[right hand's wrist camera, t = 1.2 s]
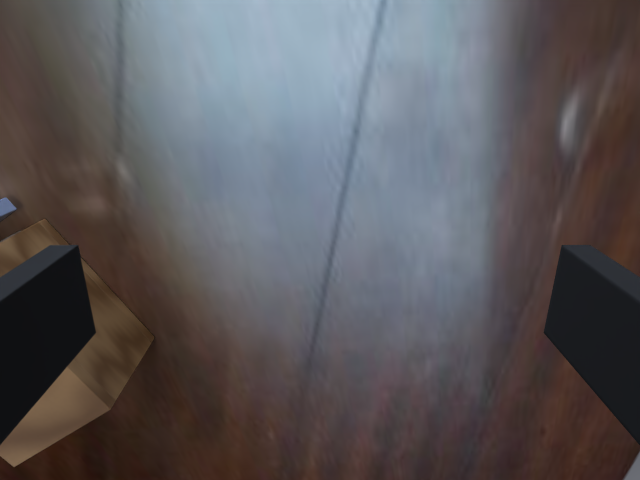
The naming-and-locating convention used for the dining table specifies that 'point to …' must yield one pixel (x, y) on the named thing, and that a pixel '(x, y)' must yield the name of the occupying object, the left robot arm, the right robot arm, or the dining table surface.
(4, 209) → the drawer
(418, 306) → the dining table surface
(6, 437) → the right robot arm
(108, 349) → the tall tan block
